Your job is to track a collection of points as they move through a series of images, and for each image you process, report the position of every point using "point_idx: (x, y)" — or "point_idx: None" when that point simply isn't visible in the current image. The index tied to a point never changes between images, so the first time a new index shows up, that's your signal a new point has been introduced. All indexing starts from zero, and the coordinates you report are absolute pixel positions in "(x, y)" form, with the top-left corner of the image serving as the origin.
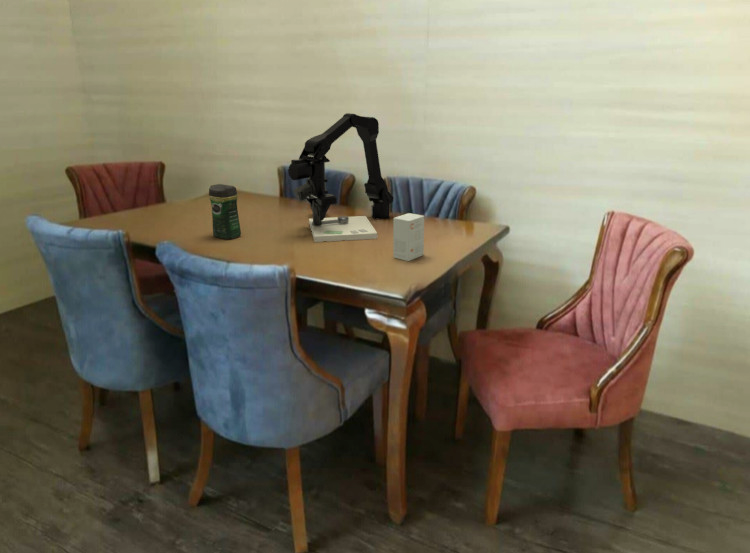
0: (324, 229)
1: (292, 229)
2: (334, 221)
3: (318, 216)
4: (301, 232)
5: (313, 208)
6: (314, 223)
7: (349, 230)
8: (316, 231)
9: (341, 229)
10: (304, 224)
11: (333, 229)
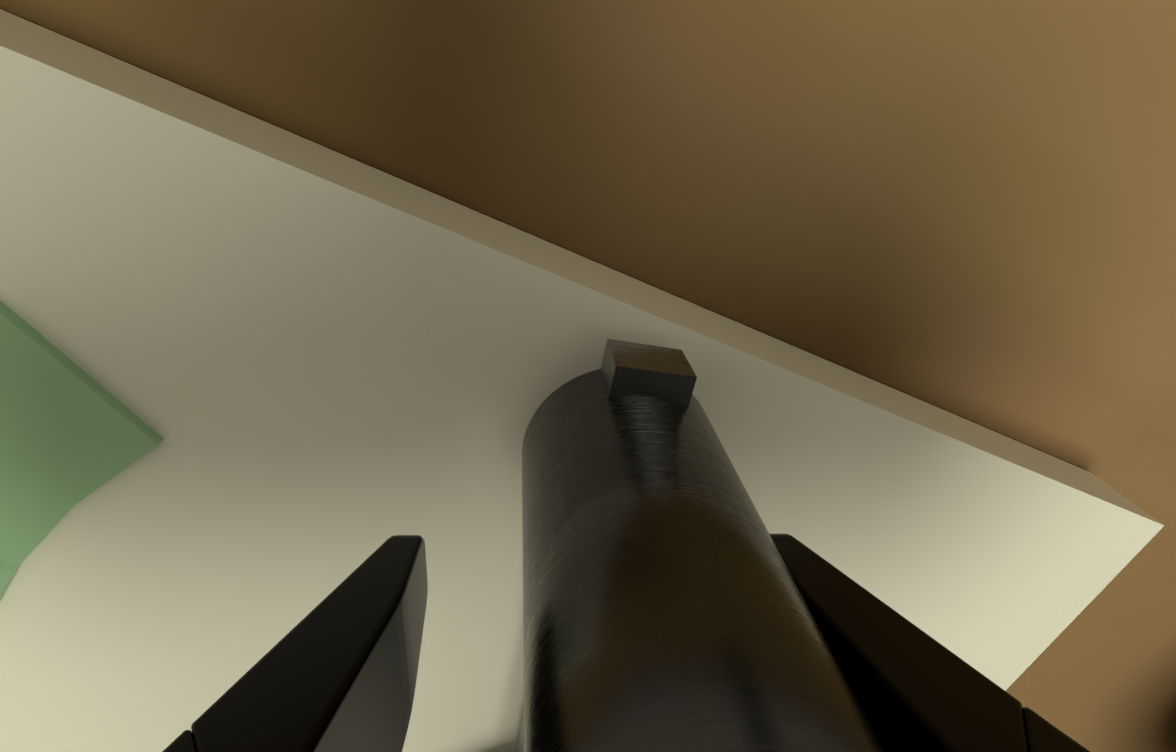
0: (307, 443)
1: (1074, 51)
2: (523, 741)
3: (527, 594)
4: (757, 101)
5: (700, 747)
6: (594, 397)
7: (42, 735)
8: (218, 229)
9: (165, 668)
10: (1128, 399)
11: (230, 571)
